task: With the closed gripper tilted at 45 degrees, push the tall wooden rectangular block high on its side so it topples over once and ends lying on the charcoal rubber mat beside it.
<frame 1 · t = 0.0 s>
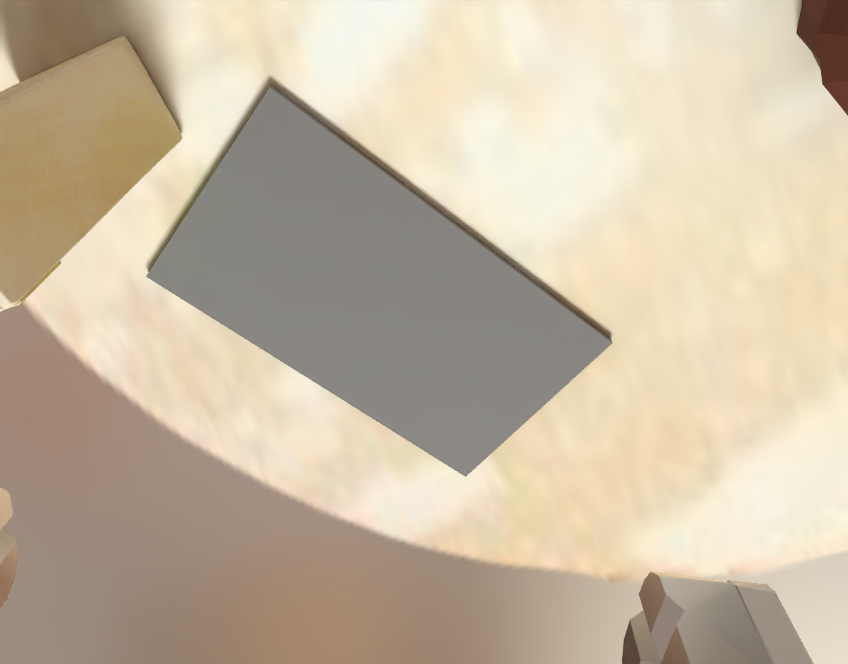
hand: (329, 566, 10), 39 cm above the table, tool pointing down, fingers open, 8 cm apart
wooden rectangular block: (106, 116, 47), on the table
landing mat: (382, 306, 52), on the table
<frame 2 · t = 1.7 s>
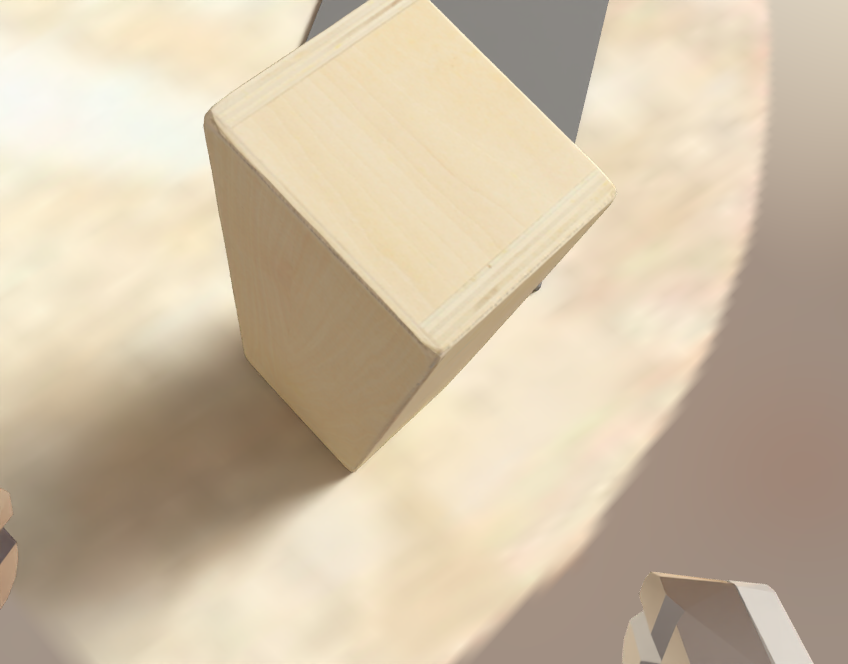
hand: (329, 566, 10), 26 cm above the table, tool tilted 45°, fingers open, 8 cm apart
wooden rectangular block: (354, 368, 38), on the table
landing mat: (459, 36, 44), on the table
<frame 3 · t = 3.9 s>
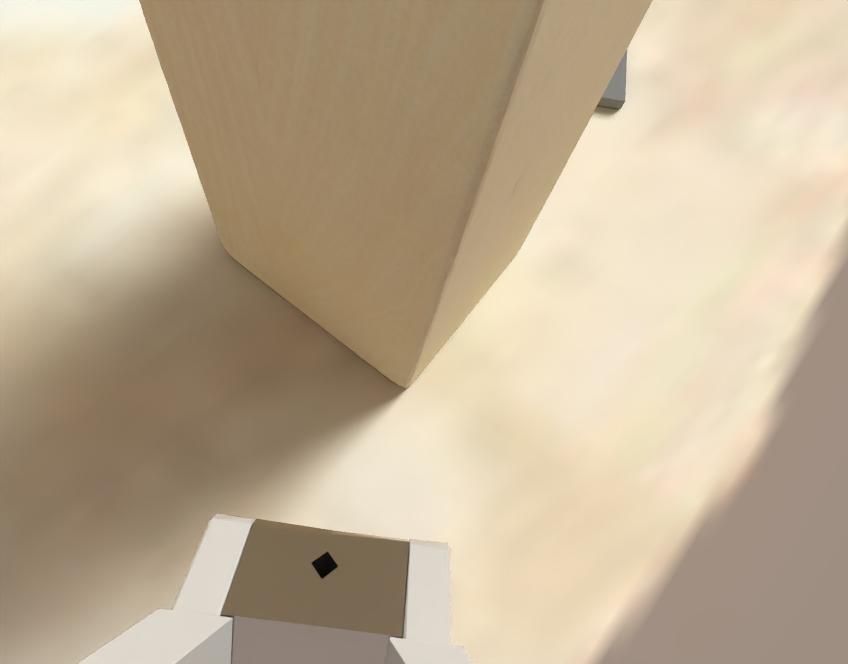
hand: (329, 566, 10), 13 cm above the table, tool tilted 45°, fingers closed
wooden rectangular block: (384, 247, 26), on the table
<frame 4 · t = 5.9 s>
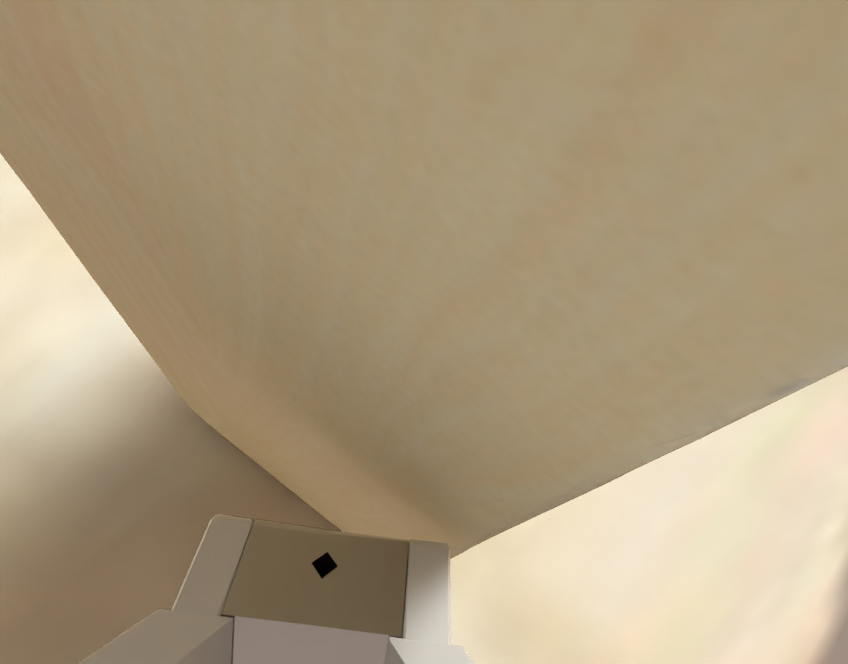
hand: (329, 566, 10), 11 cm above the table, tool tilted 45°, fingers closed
wooden rectangular block: (378, 396, 22), on the table, touching gripper
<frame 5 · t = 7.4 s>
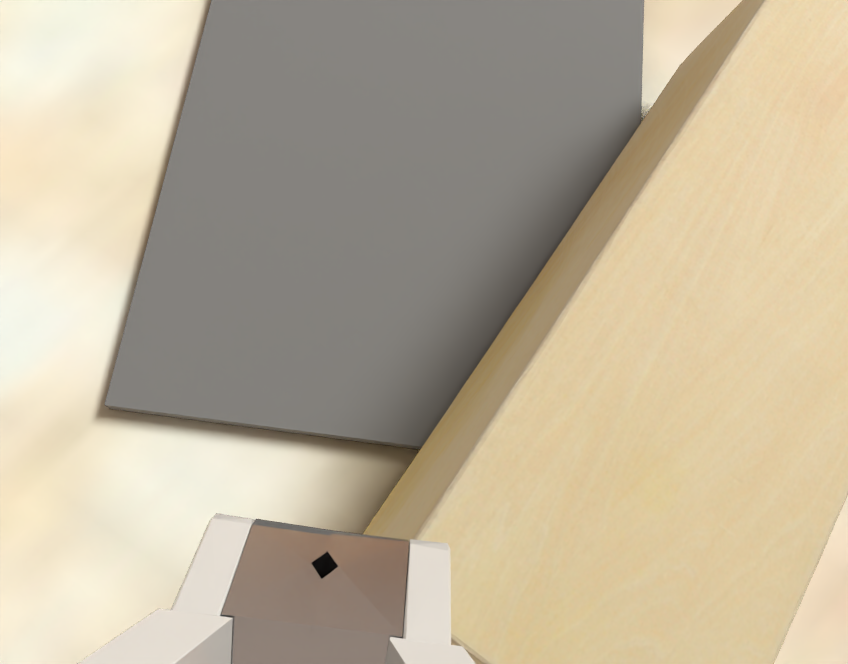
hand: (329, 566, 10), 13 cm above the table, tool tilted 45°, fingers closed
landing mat: (424, 68, 28), on the table
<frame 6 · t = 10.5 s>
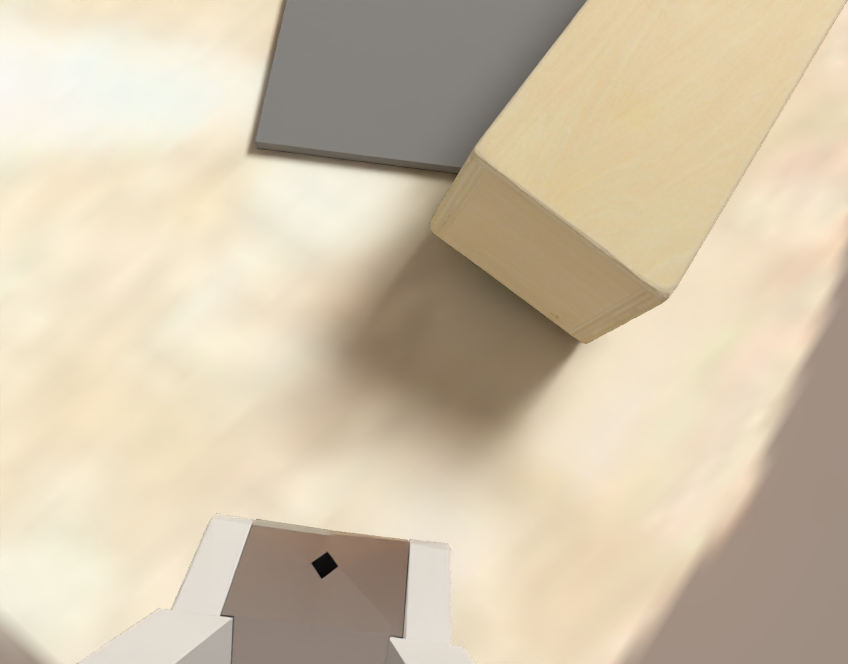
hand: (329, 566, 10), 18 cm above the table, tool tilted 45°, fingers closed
wooden rectangular block: (528, 272, 27), point 4 cm above the table, touching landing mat
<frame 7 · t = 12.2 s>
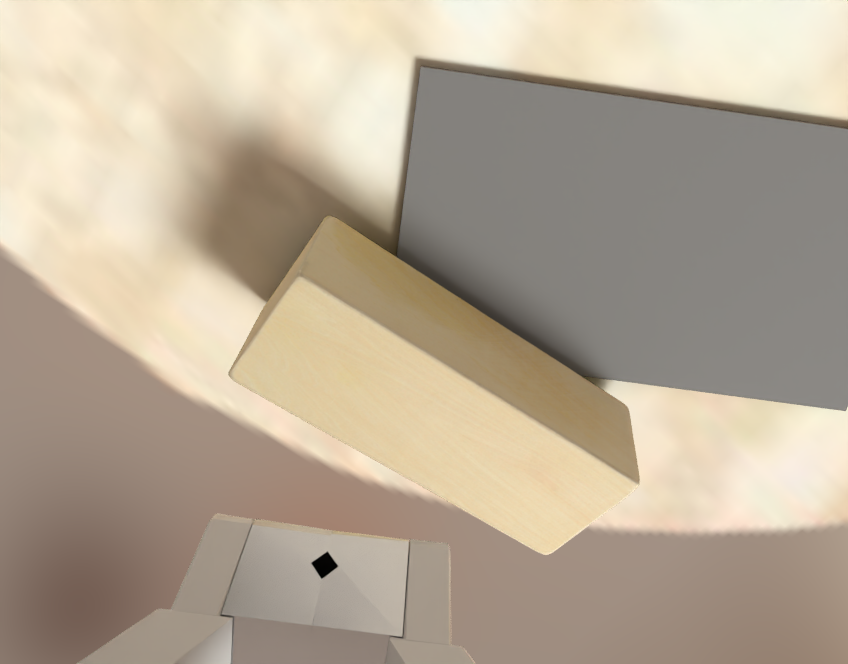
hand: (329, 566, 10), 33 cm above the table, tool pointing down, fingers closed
wooden rectangular block: (274, 288, 40), point 4 cm above the table, touching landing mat
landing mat: (650, 251, 42), on the table
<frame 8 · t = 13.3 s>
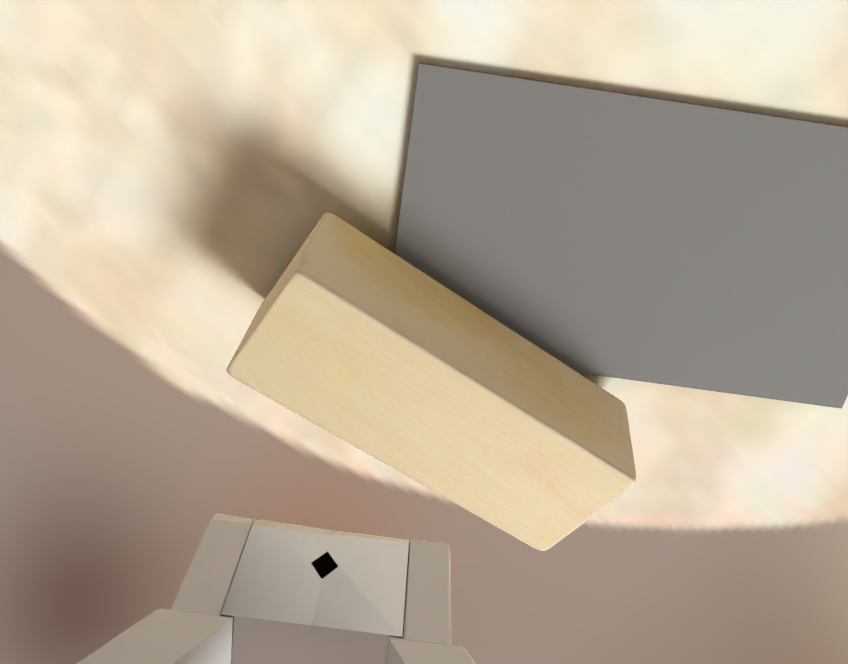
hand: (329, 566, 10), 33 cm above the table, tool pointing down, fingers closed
wooden rectangular block: (272, 284, 40), point 4 cm above the table, touching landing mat
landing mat: (648, 249, 42), on the table
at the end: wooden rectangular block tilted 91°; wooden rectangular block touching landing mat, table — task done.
